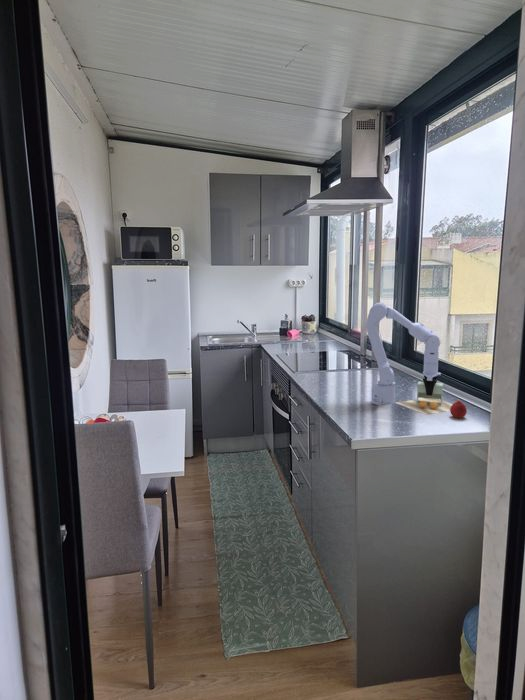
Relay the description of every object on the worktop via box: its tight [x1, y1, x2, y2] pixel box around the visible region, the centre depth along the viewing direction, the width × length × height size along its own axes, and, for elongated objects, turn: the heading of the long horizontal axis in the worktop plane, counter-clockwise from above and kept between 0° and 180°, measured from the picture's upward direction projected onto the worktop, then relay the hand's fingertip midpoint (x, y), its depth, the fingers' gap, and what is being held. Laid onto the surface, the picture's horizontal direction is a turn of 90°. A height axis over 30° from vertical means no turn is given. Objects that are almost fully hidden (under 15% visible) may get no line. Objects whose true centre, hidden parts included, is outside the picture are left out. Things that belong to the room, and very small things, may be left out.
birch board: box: [395, 398, 454, 416], centre depth 192 cm, size 20×19×1 cm
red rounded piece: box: [449, 399, 467, 419], centre depth 175 cm, size 6×6×8 cm
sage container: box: [416, 381, 444, 402], centre depth 194 cm, size 10×6×7 cm, turn 68°
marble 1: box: [420, 401, 427, 408], centre depth 188 cm, size 3×3×3 cm
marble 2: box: [430, 401, 437, 409], centre depth 187 cm, size 3×3×3 cm
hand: (429, 393), depth 194 cm, fingers closed on sage container, 6 cm apart
